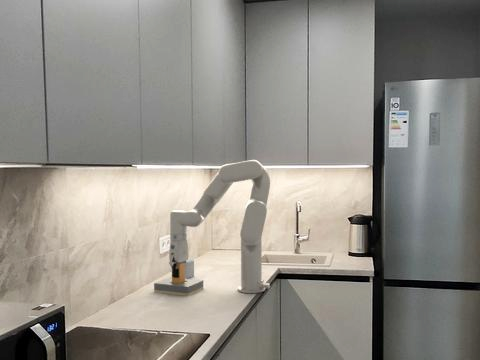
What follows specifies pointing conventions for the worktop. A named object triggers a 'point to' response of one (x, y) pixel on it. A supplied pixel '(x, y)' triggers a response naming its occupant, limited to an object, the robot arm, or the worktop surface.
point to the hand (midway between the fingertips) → (178, 276)
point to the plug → (180, 273)
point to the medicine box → (189, 269)
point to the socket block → (178, 286)
